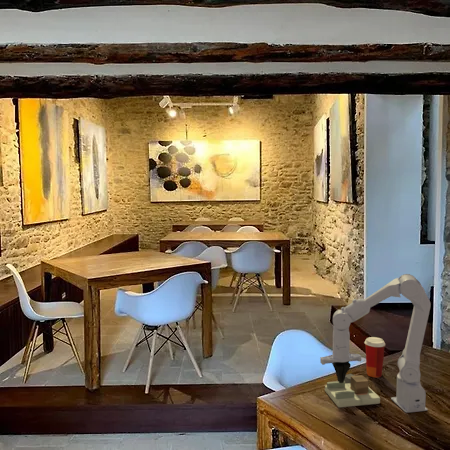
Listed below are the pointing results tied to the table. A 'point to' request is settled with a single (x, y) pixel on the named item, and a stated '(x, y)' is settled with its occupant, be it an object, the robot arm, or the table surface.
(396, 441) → the table surface
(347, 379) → the charcoal block
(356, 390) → the walnut block
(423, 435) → the table surface
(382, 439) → the table surface
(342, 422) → the table surface
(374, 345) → the paper cup
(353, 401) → the board
